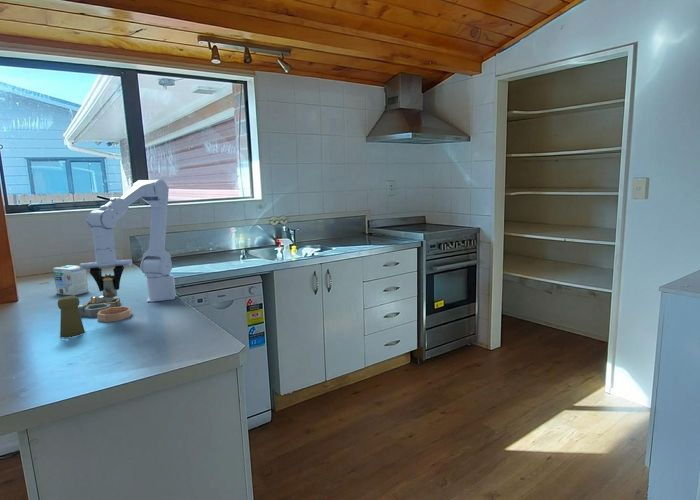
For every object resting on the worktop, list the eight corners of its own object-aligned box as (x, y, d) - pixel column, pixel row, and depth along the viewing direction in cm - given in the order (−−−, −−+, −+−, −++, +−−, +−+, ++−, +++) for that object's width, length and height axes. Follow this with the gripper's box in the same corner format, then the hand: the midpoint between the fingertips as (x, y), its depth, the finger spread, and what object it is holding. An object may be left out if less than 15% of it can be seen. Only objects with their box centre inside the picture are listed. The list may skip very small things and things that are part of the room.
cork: (58, 339, 118) (53, 300, 117) (61, 332, 124) (56, 296, 122) (84, 335, 121) (79, 297, 119) (85, 329, 126) (81, 293, 125)
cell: (118, 293, 140) (116, 272, 139) (116, 296, 136) (114, 274, 135) (104, 295, 138) (101, 273, 137) (101, 298, 135) (99, 276, 134)
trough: (120, 303, 154) (119, 298, 154) (117, 307, 149) (117, 301, 149) (88, 306, 151) (88, 301, 151) (85, 311, 146) (84, 305, 145)
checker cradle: (112, 309, 147) (111, 299, 146) (108, 315, 140) (107, 305, 139) (81, 312, 143) (80, 303, 143) (76, 319, 137) (75, 308, 136)
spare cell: (114, 305, 153) (114, 294, 153) (112, 306, 149) (111, 294, 149) (92, 307, 151) (91, 296, 151) (89, 308, 147) (88, 297, 147)
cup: (132, 311, 143) (132, 305, 143) (129, 319, 135) (128, 312, 135) (101, 315, 140) (101, 308, 140) (96, 323, 132) (95, 316, 131)
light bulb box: (55, 294, 172) (52, 267, 170) (71, 290, 178) (68, 264, 176) (73, 296, 168) (70, 269, 166) (89, 291, 174) (86, 265, 172)
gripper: (75, 251, 129) (80, 295, 131) (128, 248, 133) (132, 290, 135) (80, 248, 135) (86, 290, 137) (131, 245, 140) (135, 285, 142)
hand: (109, 289), depth 137 cm, fingers closed on cell, 4 cm apart
